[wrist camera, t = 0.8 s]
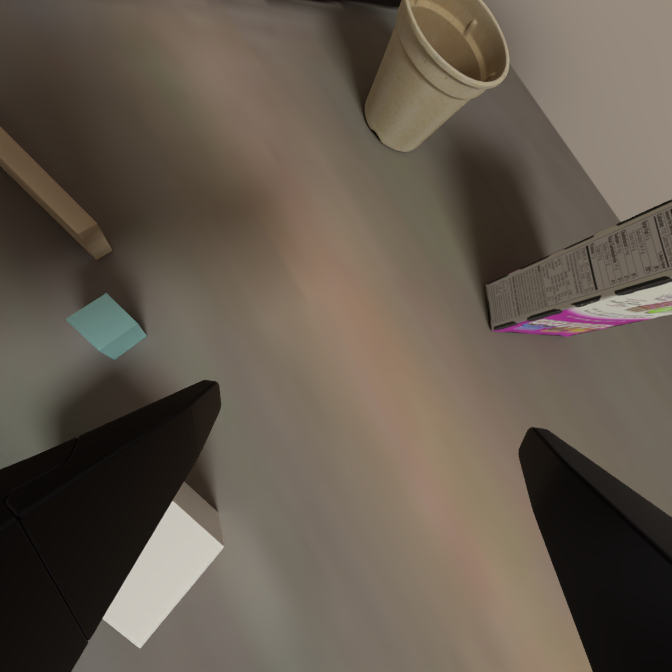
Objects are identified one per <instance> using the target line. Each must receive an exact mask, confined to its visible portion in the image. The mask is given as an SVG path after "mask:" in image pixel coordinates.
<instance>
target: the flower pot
mask: <svg viewBox="0 0 672 672" xmlns="http://www.w3.org/2000/svg"><path fill="white" fill-rule="evenodd" d="M508 70H509V53H508V48H507V45H506V41H505V39H504V36H503V33H502V32H501V29H500V27H499V25H498V23H497V21H496V20H495V18H494V16H493V15H492V13H491V12H490V10H489V9H488V7H487V6H486V4H485V3H484V2H483V1H482V0H402V2H401V4H400V7H399V9H398V13H397V23H396V26H395V28H394V31H393V33H392V36H391V39H390V41H389V44H388V46H387V49H386V52H385V54H384V57H383V59H382V62H381V64H380V67H379V70H378V72H377V75H376V77H375V80H374V82H373V85H372V87H371V90H370V93H369V95H368V97H367V100H366V103H365V116H366V120H367V123H368V125H369V127H370V129H372V130H374V131H375V132H376V133H377V135H378V137H379V139H380V141H381V142H382V143H383V144H384V145H386V146H388V147H389V148H391V149H394V150H397V151H401V152H409V151H411V150H413V149H415V148H416V147H418V146H419V145H420V144H421V143H422V142H423V141H424V140H425V139H426V138H428V137H429V136H430V135H431V134H432V133H433V132H434V131H435V130H436V129H437V128H439V127H440V126H441V125H442V124H443V123H444V122H445V121H446V120H447V119H449V118H450V117H451V116H452V115H453V114H454V113H455V112H457V111H458V110H459V109H460V108H461V107H462V106H463V105H465V104H466V103H467V102H468V101H469V100H470V99H472V98H475V97H477V96H479V95H480V94H482V93H483V92H484V91H485V90H486V89H490V88H493V87H496V86H497V85H499V84H500V83H501V82H502V81H503V80H504V78H505V77H506V75H507V73H508Z"/></svg>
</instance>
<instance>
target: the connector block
mask: <svg viewBox="0 0 672 672" xmlns="http://www.w3.org/2000/svg"><path fill="white" fill-rule="evenodd" d="M223 548H224V542H223V537H222V531H221V525H220V519H219V514H218V512H217V511H216V510H215V509H214V508H213V507H212V506H211V505H209V504H208V503H207V502H206V501H205V500H204V499H203V498H202V497H201V496H200V495H198V494H197V493H196V492H195V491H194V490H193V489H192V488H191V487H190V486H189V485H187V484H186V483H185V482H183V484H182V486H181V487H180V489H179V491H178V492H177V494H176V496H175V497H174V499H173V501H172V502H171V504H170V506H169V508H168V509H167V511H166V513H165V514H164V516H163V518H162V519H161V521H160V523H159V524H158V526H157V528H156V529H155V531H154V533H153V534H152V536H151V538H150V539H149V541H148V543H147V544H146V546H145V548H144V550H143V551H142V553H141V555H140V556H139V558H138V560H137V561H136V563H135V565H134V566H133V568H132V570H131V571H130V573H129V575H128V576H127V578H126V580H125V581H124V583H123V585H122V586H121V588H120V590H119V592H118V593H117V595H116V597H115V598H114V600H113V602H112V603H111V605H110V607H109V608H108V610H107V612H106V613H105V615H104V617H103V618H102V619H104V620H105V621H106V622H107V623H108V624H110V625H111V626H112V627H113V628H115V629H116V630H117V631H118V632H120V633H121V634H122V635H123V636H125V637H126V638H127V639H128V640H130V641H131V642H132V643H133V644H135V645H136V646H137V647H138V648H141V647H142V646H143V644H144V643H145V642H146V641H147V640H148V638H149V637H150V636H151V635H152V634H153V632H154V631H155V630H156V629H157V627H158V626H159V625H160V624H161V623H162V621H163V620H164V619H165V618H166V617H167V615H168V614H169V613H170V612H171V611H172V609H173V608H174V607H175V606H176V605H177V603H178V602H179V601H180V600H181V599H182V597H183V596H184V595H185V594H186V592H187V591H188V590H189V589H190V588H191V586H192V585H193V584H194V583H195V582H196V580H197V579H198V578H199V577H200V576H201V574H202V573H203V572H204V571H205V570H206V568H207V567H208V566H209V565H210V564H211V562H212V561H213V560H214V559H215V557H216V556H217V555H218V554H219V553H220V551H221V550H222V549H223Z"/></svg>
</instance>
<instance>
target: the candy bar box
mask: <svg viewBox="0 0 672 672" xmlns="http://www.w3.org/2000/svg"><path fill="white" fill-rule="evenodd" d="M485 291H486V299H487V304H488V310H489V318H490V325H491V330H492V331H495V332H512V333H527V334H541V335H555V336H572V335H576V334H581V333H586V332H591V331H595V330H600V329H605V328H610V327H615V326H619V325H624V324H629V323H633V322H638V321H643V320H648V319H653V318H658V317H662V316H667V315H671V314H672V200H670V201H667V202H664V203H662V204H660V205H658V206H656V207H653V208H651V209H649V210H647V211H645V212H642V213H640V214H638V215H636V216H634V217H632V218H630V219H628V220H625V221H623V222H620V223H618V224H616V225H614V226H612V227H610V228H608V229H605V230H603V231H601V232H599V233H597V234H595V235H593V236H591V237H589V238H586V239H584V240H582V241H580V242H578V243H575V244H573V245H571V246H569V247H567V248H564V249H562V250H560V251H557V252H555V253H553V254H551V255H549V256H547V257H545V258H542V259H540V260H538V261H536V262H533V263H531V264H529V265H527V266H524V267H522V268H520V269H518V270H516V271H514V272H511V273H509V274H507V275H505V276H503V277H500V278H498V279H496V280H494V281H491V282H489V283H487V284H486V285H485Z"/></svg>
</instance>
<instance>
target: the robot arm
mask: <svg viewBox="0 0 672 672" xmlns="http://www.w3.org/2000/svg"><path fill="white" fill-rule="evenodd" d="M220 408H221V399H220V389H219V384H218V383H217V382H216V381H210V380H203V381H200V382H198V383H196V384H194V385H191V386H189V387H187V388H185V389H183V390H180V391H178V392H176V393H174V394H171V395H169V396H167V397H165V398H163V399H160V400H158V401H156V402H154V403H151V404H149V405H147V406H145V407H143V408H140V409H138V410H136V411H134V412H131V413H129V414H127V415H125V416H123V417H120V418H118V419H116V420H114V421H111V422H109V423H107V424H105V425H103V426H100V427H98V428H96V429H94V430H91V431H89V432H87V433H85V434H83V435H80V436H79V437H78V438H73V439H71V440H69V441H67V442H65V443H62V444H60V445H58V446H56V447H53V448H51V449H49V450H46V451H44V452H42V453H40V454H37V455H35V456H33V457H30V458H28V459H25V460H23V461H20V462H18V463H15V464H13V465H10V466H8V467H5V468H3V469H0V672H71V671H72V669H73V668H74V666H75V664H76V663H77V661H78V659H79V658H80V656H81V654H82V652H83V651H84V649H85V647H86V646H87V644H88V640H90V639H91V637H92V635H93V634H94V632H95V630H96V628H97V627H98V625H99V623H100V622H101V620H102V618H103V617H104V615H105V613H106V612H107V610H108V608H109V607H110V605H111V603H112V602H113V600H114V598H115V597H116V595H117V593H118V592H119V590H120V588H121V586H122V585H123V583H124V581H125V580H126V578H127V576H128V575H129V573H130V571H131V570H132V568H133V566H134V565H135V563H136V561H137V560H138V558H139V556H140V555H141V553H142V551H143V550H144V548H145V546H146V544H147V543H148V541H149V539H150V538H151V536H152V534H153V533H154V531H155V529H156V528H157V526H158V524H159V523H160V521H161V519H162V518H163V516H164V514H165V513H166V511H167V509H168V508H169V506H170V504H171V502H172V501H173V499H174V497H175V496H176V494H177V492H178V491H179V489H180V487H181V486H182V484H183V482H184V481H185V479H186V477H187V476H188V474H189V472H190V471H191V469H192V467H193V466H194V464H195V462H196V460H197V459H198V457H199V455H200V453H201V451H202V449H203V447H204V444H205V442H206V440H207V438H208V436H209V433H210V431H211V429H212V427H213V425H214V422H215V420H216V418H217V416H218V414H219V411H220ZM519 460H520V464H521V467H522V471H523V475H524V479H525V483H526V487H527V491H528V495H529V498H530V502H531V506H532V509H533V512H534V515H535V518H536V521H537V523H538V526H539V529H540V531H541V534H542V537H543V539H544V542H545V545H546V547H547V550H548V553H549V556H550V558H551V561H552V564H553V566H554V569H555V572H556V574H557V577H558V580H559V582H560V585H561V588H562V590H563V593H564V596H565V598H566V601H567V604H568V606H569V609H570V612H571V614H572V617H573V620H574V622H575V625H576V628H577V630H578V633H579V636H580V639H581V641H582V644H583V647H584V649H585V652H586V655H587V657H588V660H589V663H590V665H591V668H592V671H593V672H672V517H670V516H669V515H668V514H666V513H665V512H663V511H662V510H661V509H659V508H658V507H656V506H655V505H653V504H652V503H651V502H649V501H648V500H646V499H645V498H644V497H642V496H641V495H639V494H638V493H636V492H635V491H634V490H632V489H631V488H629V487H628V486H627V485H625V484H624V483H622V482H621V481H619V480H618V479H617V478H615V477H614V476H612V475H611V474H610V473H608V472H607V471H605V470H604V469H602V468H601V467H600V466H598V465H597V464H595V463H594V462H593V461H591V460H590V459H588V458H587V457H585V456H584V455H583V454H581V453H580V452H578V451H577V450H576V449H574V448H573V447H571V446H570V445H568V444H567V443H566V442H564V441H563V440H561V439H560V438H559V437H557V436H556V435H554V434H553V433H551V432H550V431H549V430H547V429H542V428H535V427H531V428H529V429H528V430H527V432H526V435H525V437H524V439H523V441H522V443H521V445H520V448H519Z"/></svg>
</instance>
